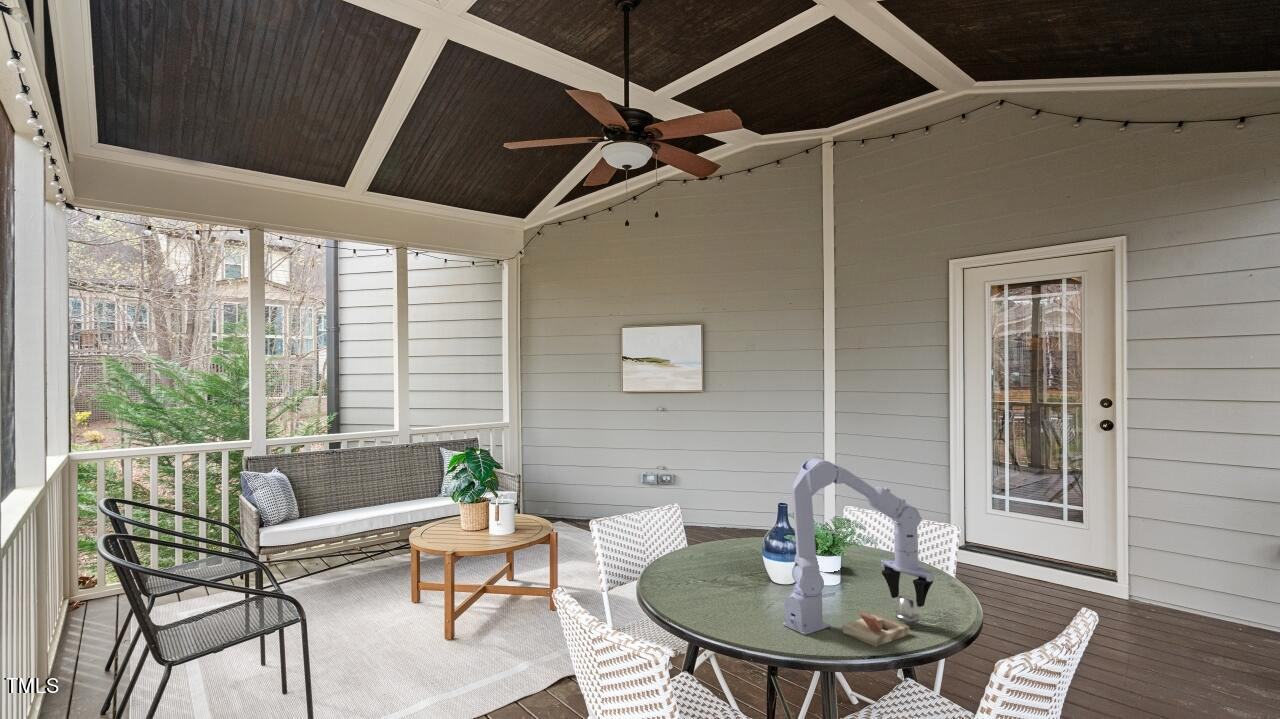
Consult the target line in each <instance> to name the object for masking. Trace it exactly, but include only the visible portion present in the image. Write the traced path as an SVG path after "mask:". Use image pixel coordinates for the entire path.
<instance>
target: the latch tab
mask: <svg viewBox="0 0 1280 719" xmlns="http://www.w3.org/2000/svg"><path fill="white" fill-rule="evenodd" d="M871 615H872V614H867V613H865V612H862V611H861V612H860V613H859V616H860V618H861V619H862V618H863V620H864V621H865V623H866V624H867V626H870V627H872V628H875V629H877V630H880V631H881V630H882V629H883V627H881V626H880V624H879V623H878V621H877V620H876V618H875V617H873V616H871Z"/></svg>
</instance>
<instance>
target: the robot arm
mask: <svg viewBox="0 0 1280 719" xmlns="http://www.w3.org/2000/svg"><path fill="white" fill-rule="evenodd" d="M833 483H834V484H836V485H839V484H840V485H841V484H845V485H846V486H848V488H851V489H853V490H854V491H855V492H858V493H859V494H861V495H863V496H864V497H866V499H867V502H868V505H869V506H871V508H873V509H875V510H876V511H878V512H880V513H881V514H883V515H885V516H886V517H888V518H889V519H891V520H892V521H893V532H894V534H893V536H894V538H893V539H894V560H892V559H887V558H884V559H881V560H880V565H881V566H880V568H882V570H881V574H882V576H883V577H884V579H885V581H886V584H887V586H888V590H889V592H890V596H891V598H892V599H895V598H896V599H897V598H899V596H900V577H901V573H902V574H906V575H909V576H912V577H915V579H912V583H913V586H914V590H915V599H916V607H918V608H922V607H923V606H925V603H926V599H927V595H928V593H929V590H930V588H931V586H932V584H934V581H935V572H934V571H933V572H932V571H929V570H927V569H925V568H923V567H922V566H920V565H919V535H918V527H919V525H920V524H921V522H922V516H921V515H920V512H919V510H918V509H917V508H916V507H914V506H912V505H911V504H909V503H907V502H906V499H904V498H903V497H898V496H896V495H895V494H893V493H892V492H891V489H889V488H888V487H886V486H885V487H882V486H876V487H874V486H872V485H870V484H869V483H867V482H865V481H864V480H862V479H861V478H860V477H858V476H857V475H855V474H854V473H853V472H851V471H849V470H848V469H846V468H844V467H842V466H840V465H837V464H836V463H833V462H830V461H829V460H826V459H824V458H822V457H820V456H811V457H810V458H808V459H807V460H806V461H805V462H803V463H802V464H801V467H800V470H799V472H798V475H797V477H796V478H795V480H794V483H792V486H791V487H792V488H791V492H792V493H791V496H792V509H793V510H792V511H793V522H794V538H795V551H796V554H795V556H794V564H793V568H792V569H791V576H792V578H793V580H794V582H795V584H794V586H793V592H792V593H791V594H790V595H789V596H787V597H786V598H785V601H784V621H785V622H783V623H782V625H783V626H785V627H787V628H789V629H791V630H793V631H796V632H798V633H800V634H802V635H809V634H812V633H815V632H819V631H822V630H824V629H827V628H831V625H830V623H827V622H824V621H823V589H824V587H825V581H824V578H823V576H822V574H821V573H820V572H821V571H820V567H819V565H818V561H817V552H816V550H817V549H816V535H815V524H814V522H815V521H814V508H813V506H814V505H813V496H814V495H815V494H816V493H818V492H819V491H820V490H821V489H823V488H826V487H827V486H829V485H831V484H833Z"/></svg>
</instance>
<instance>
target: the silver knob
mask: <svg viewBox="0 0 1280 719" xmlns="http://www.w3.org/2000/svg"><path fill="white" fill-rule="evenodd" d="M898 599H899V600H898V605H899V606H898V607H899V608H898V611H896V612H895V618H896V619H897V620H899V623H901V624H904V625H907V626H909V629H914V628H916V627H917V623H918V622H920V620H921V619H920V615H919V614H918V613H917V603H916V597H915V596H912V595H906V594H904V595H899V596H898Z"/></svg>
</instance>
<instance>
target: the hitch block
mask: <svg viewBox="0 0 1280 719" xmlns="http://www.w3.org/2000/svg"><path fill="white" fill-rule="evenodd" d="M870 615H871V616H873V617H875V618H876V620H877V621H878V623H879V624H880V626H881V627H882V630H881V631H880V630H877V629H875V628H872V627H870V626H867V624H866V623H865V621H864V620H863V618H862V617H861V618H860V619H856V620H853V621H850V622H847V623H844V624H842V633H843V634H846V635H847V636H849V637H852V638H854V639H857V640H859V641H860V642H861V641H862V642H864V643H865V644H868V645H871V646H873V647H875V648H877V647H880V646H882V645H884V644H887V643H890V642H892V641H895V640H898V639H901V638H903V637H907V636H908V635H910V628H909V626H907V625H904V624H901V623H900V621H899V622H898V621H896V620H894V619H890V618H888V617H885V616H883V615H881V614H878V613H875V614H870ZM883 628H884V629H883Z"/></svg>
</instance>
